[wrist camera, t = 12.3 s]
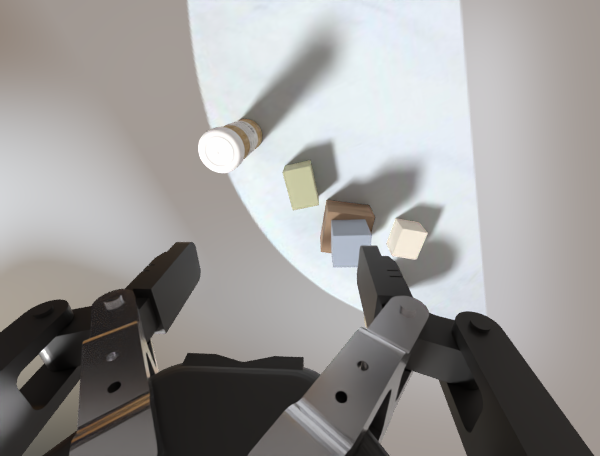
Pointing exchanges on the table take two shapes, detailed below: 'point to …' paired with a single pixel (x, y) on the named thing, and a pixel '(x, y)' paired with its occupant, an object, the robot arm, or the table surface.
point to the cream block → (406, 239)
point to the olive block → (301, 185)
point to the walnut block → (342, 218)
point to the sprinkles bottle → (229, 145)
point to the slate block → (348, 241)
